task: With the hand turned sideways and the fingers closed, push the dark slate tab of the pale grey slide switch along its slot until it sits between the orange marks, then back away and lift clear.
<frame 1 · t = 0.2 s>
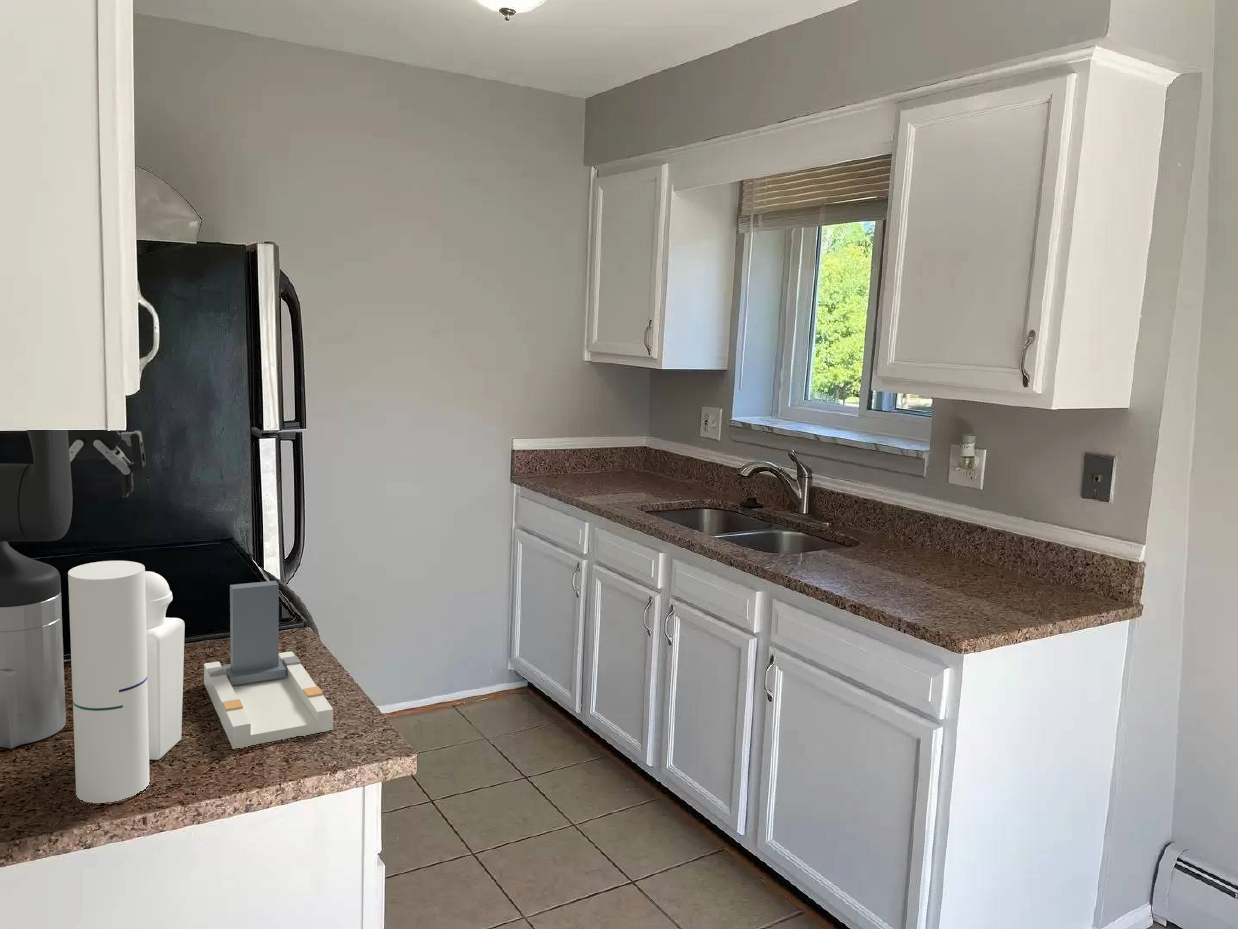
hand: (95, 495, 145), 22 cm above the counter, tool pointing down, fingers open, 8 cm apart
switch tab: (254, 630, 130), point 8 cm above the counter, slide at 0.0 cm
soap dispenser: (147, 750, 112), on the counter
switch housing: (265, 706, 125), on the counter
cylindrical container: (113, 790, 103), on the counter
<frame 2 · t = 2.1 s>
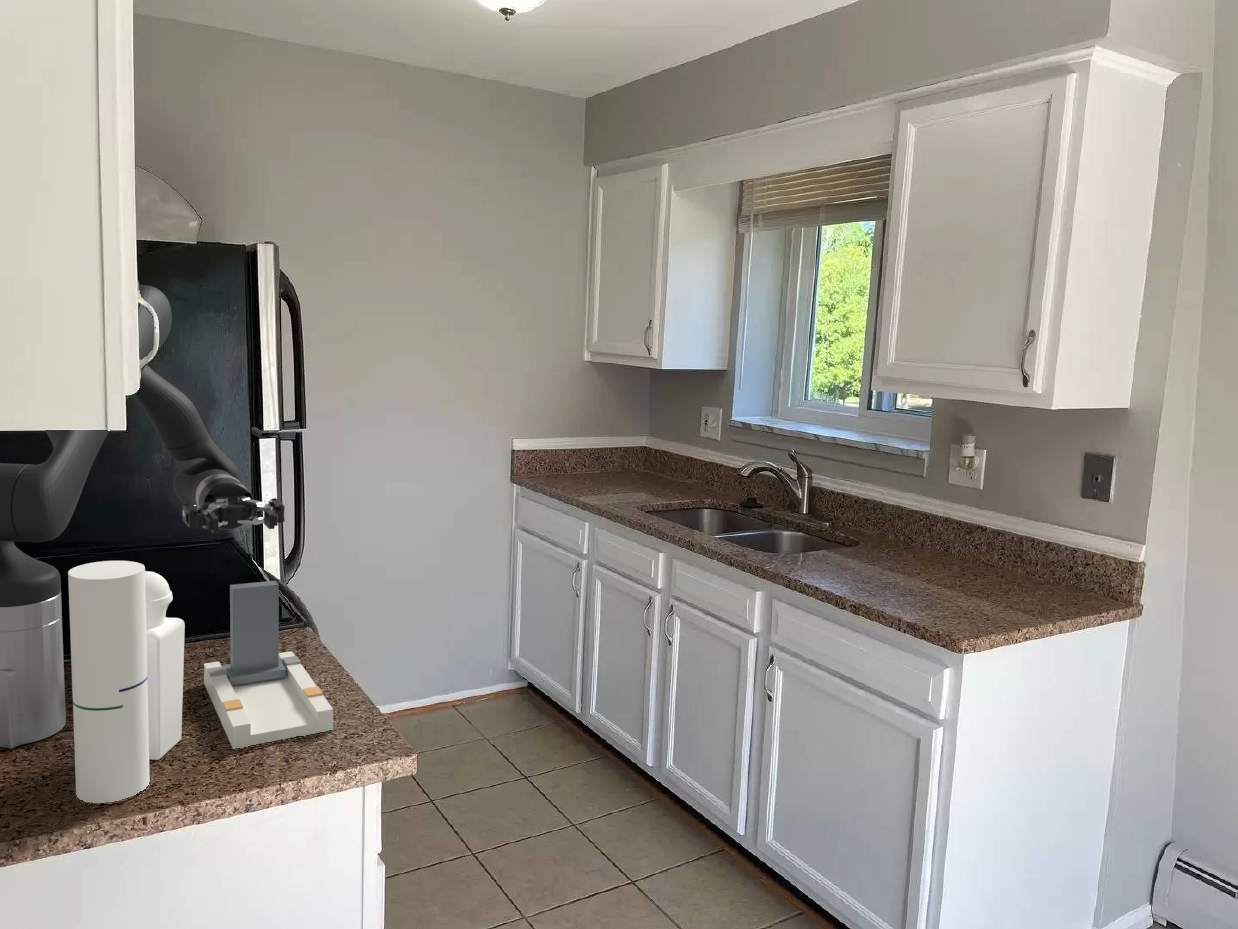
hand: (244, 524, 133), 22 cm above the counter, tool horizontal, fingers open, 7 cm apart
nothing on the counter moved.
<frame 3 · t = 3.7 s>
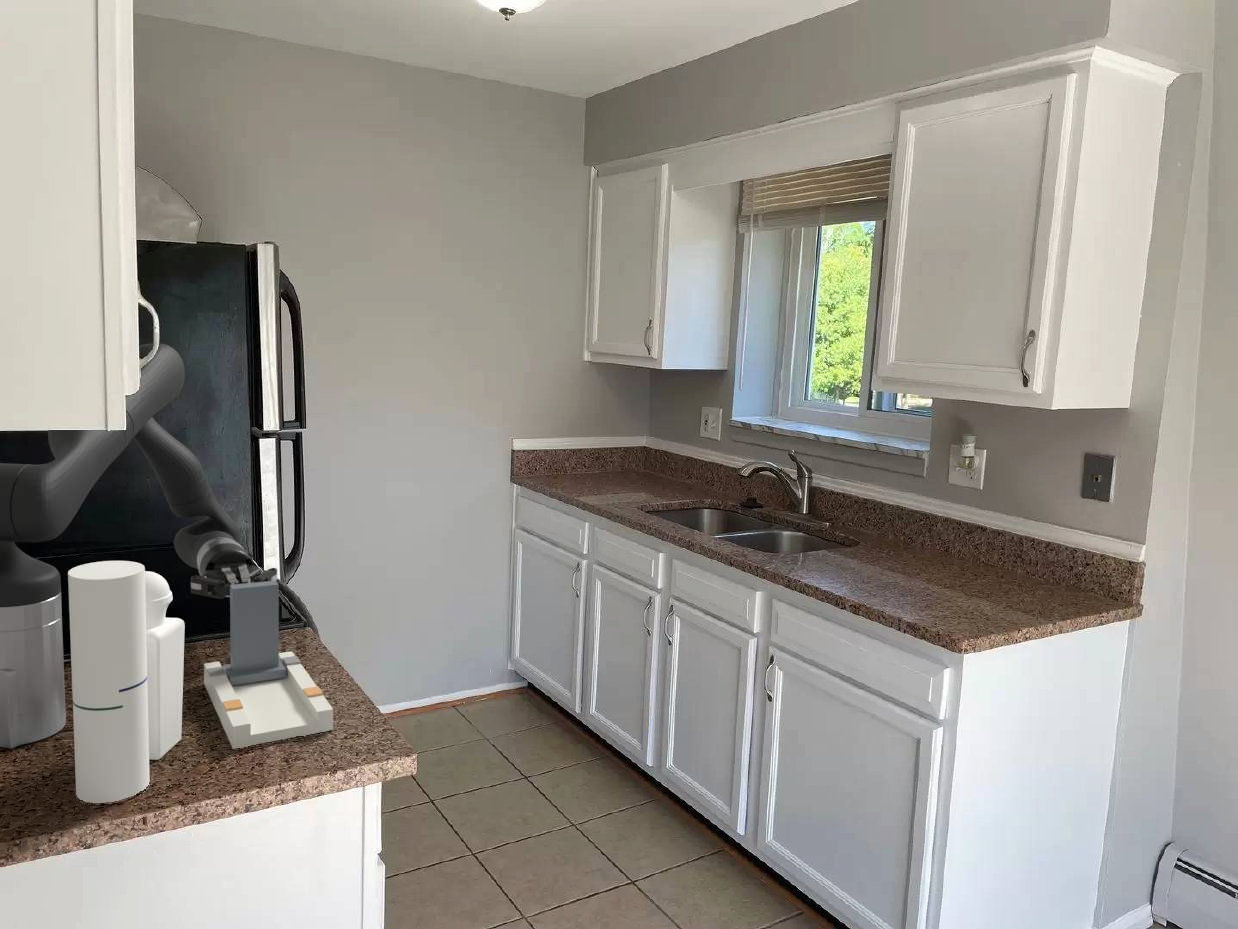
hand: (246, 597, 134), 11 cm above the counter, tool horizontal, fingers closed
nothing on the counter moved.
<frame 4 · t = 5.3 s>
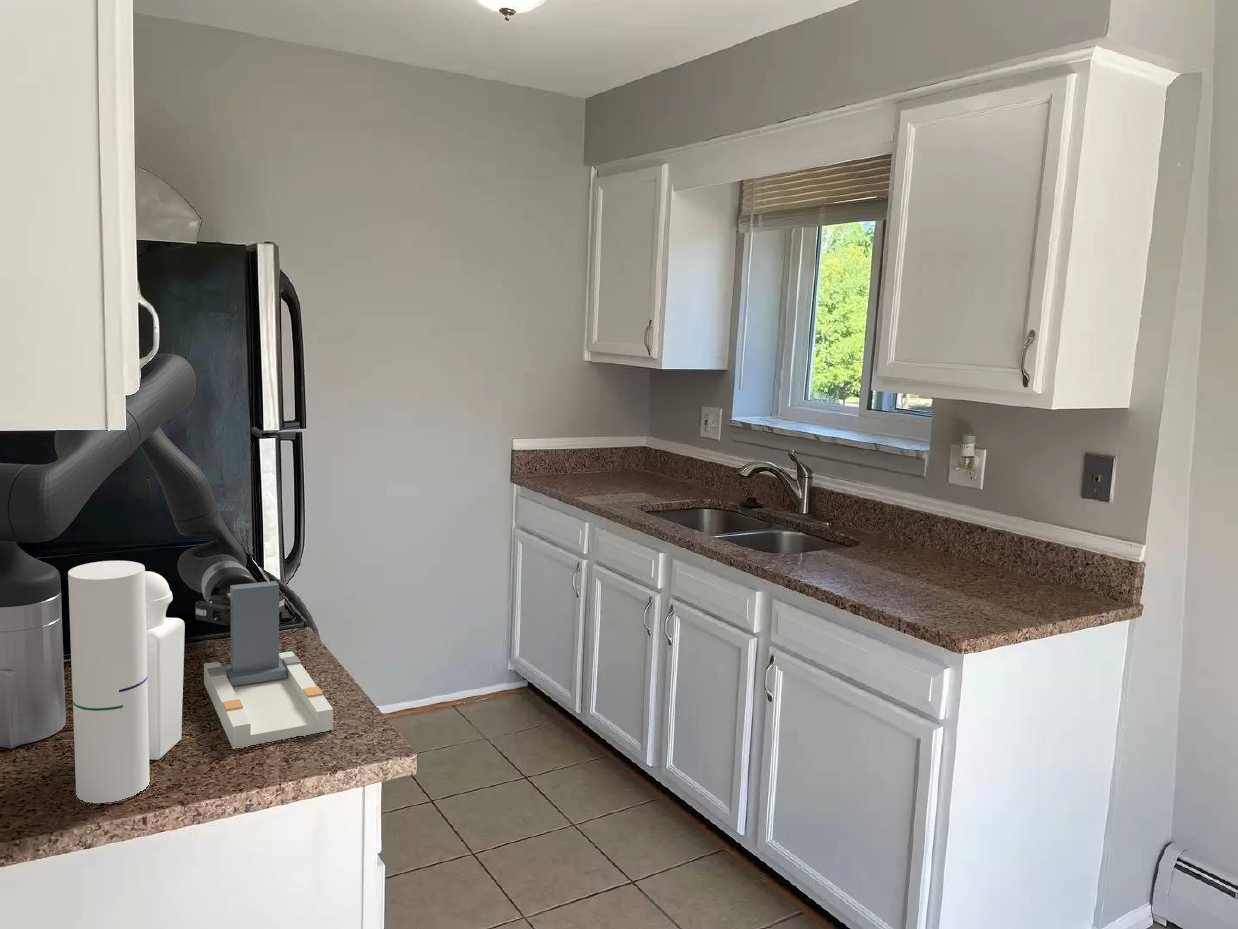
hand: (253, 624, 130), 9 cm above the counter, tool horizontal, fingers closed
switch tab: (254, 630, 129), point 8 cm above the counter, slide at 0.2 cm, touching gripper
everything else where it was.
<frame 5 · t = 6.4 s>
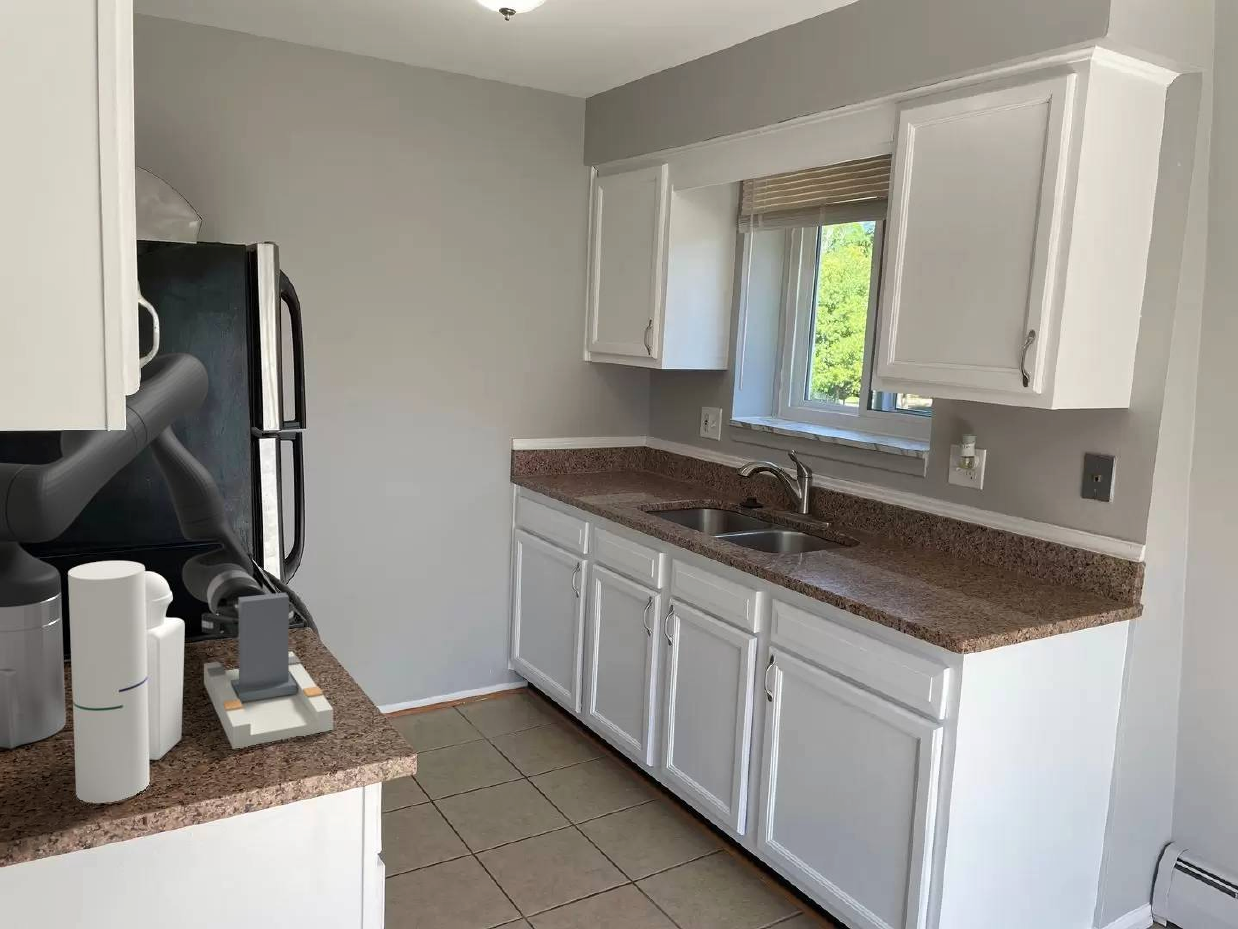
hand: (262, 637, 125), 9 cm above the counter, tool horizontal, fingers closed
switch tab: (263, 644, 125), point 8 cm above the counter, slide at 6.0 cm, touching gripper
everything else where it was.
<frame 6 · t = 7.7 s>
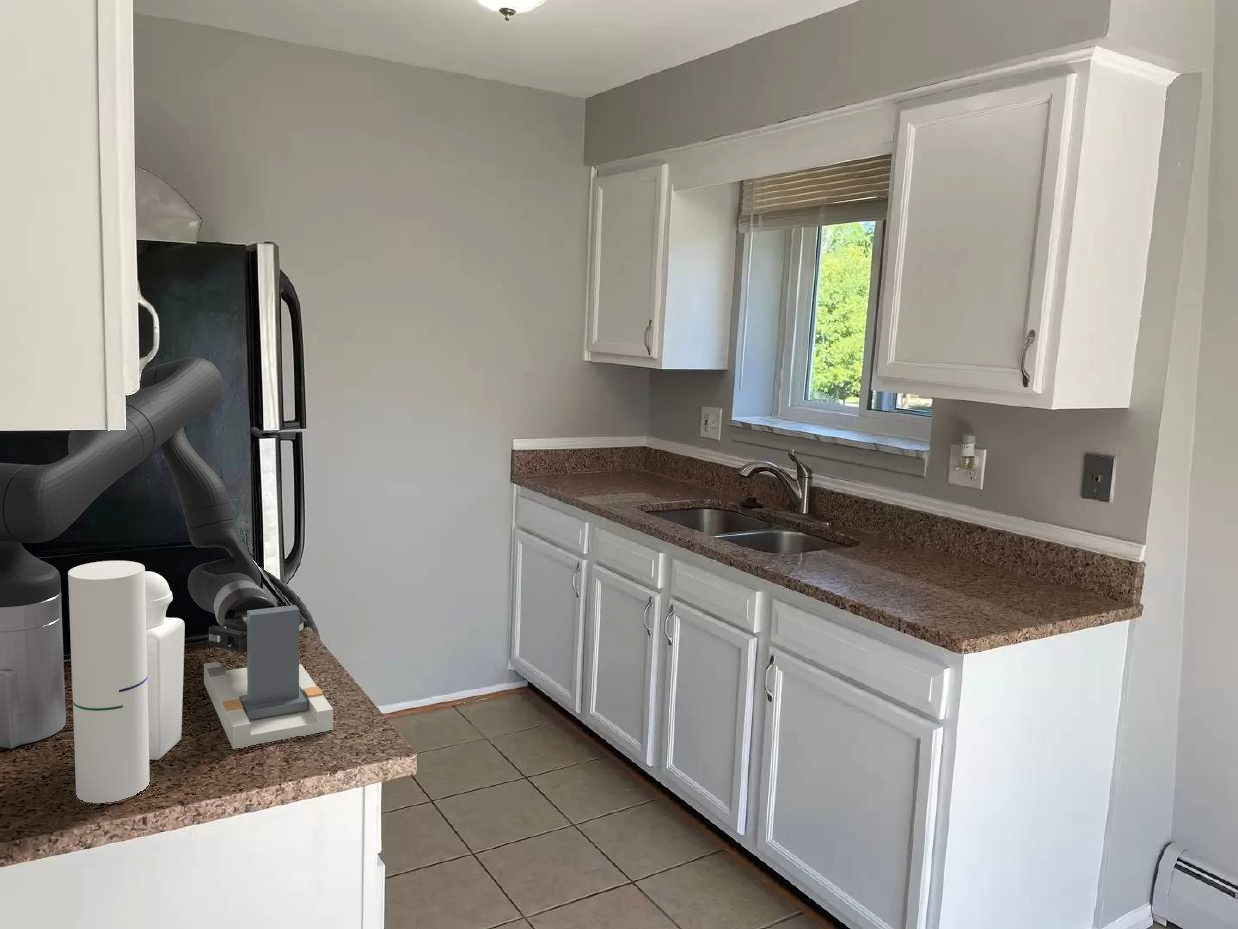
hand: (271, 652, 121), 9 cm above the counter, tool horizontal, fingers closed
switch tab: (273, 659, 120), point 8 cm above the counter, slide at 11.7 cm, touching gripper
everything else where it was.
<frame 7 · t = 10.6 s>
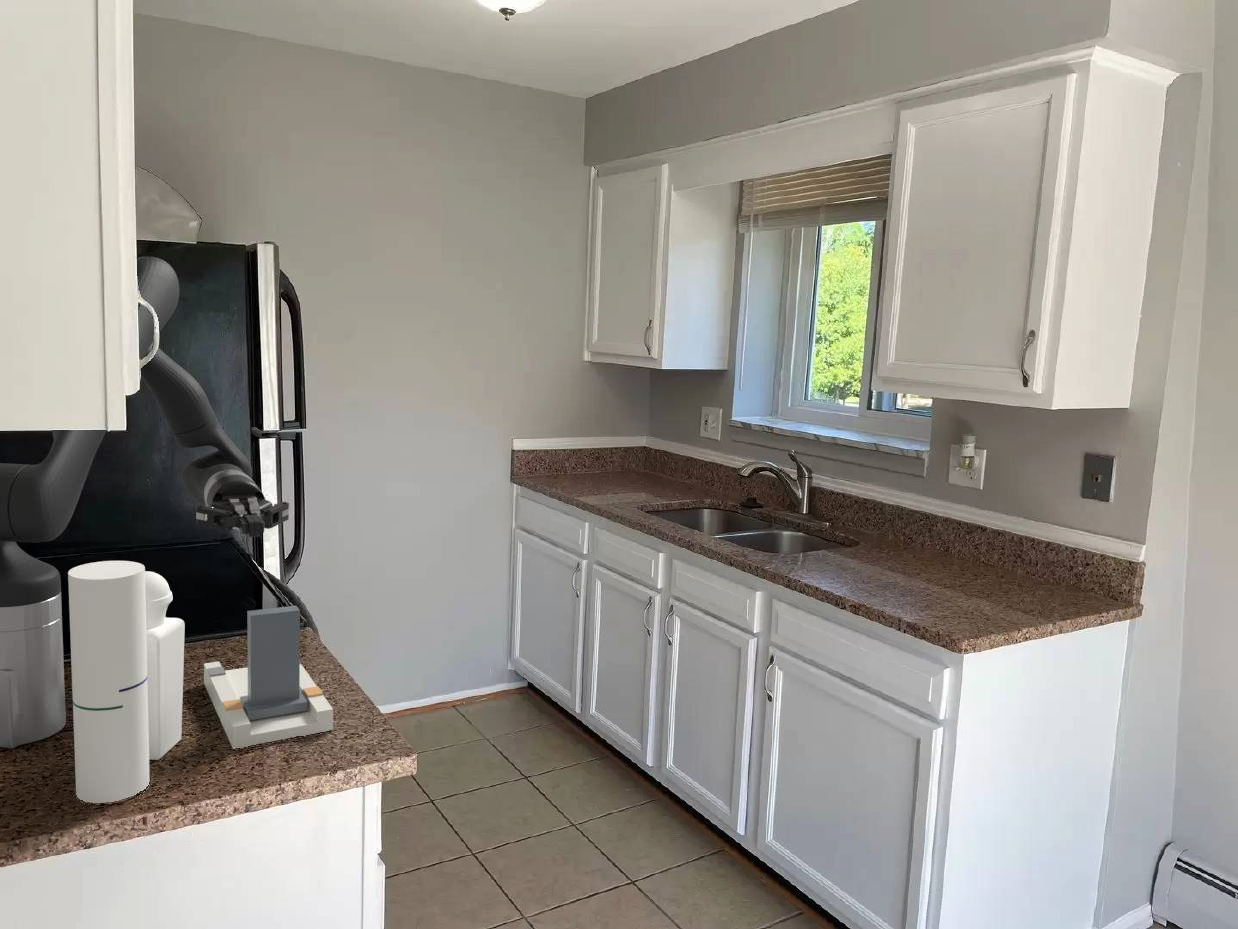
hand: (255, 529, 125), 24 cm above the counter, tool horizontal, fingers closed
switch tab: (273, 659, 120), point 8 cm above the counter, slide at 12.0 cm
everything else where it was.
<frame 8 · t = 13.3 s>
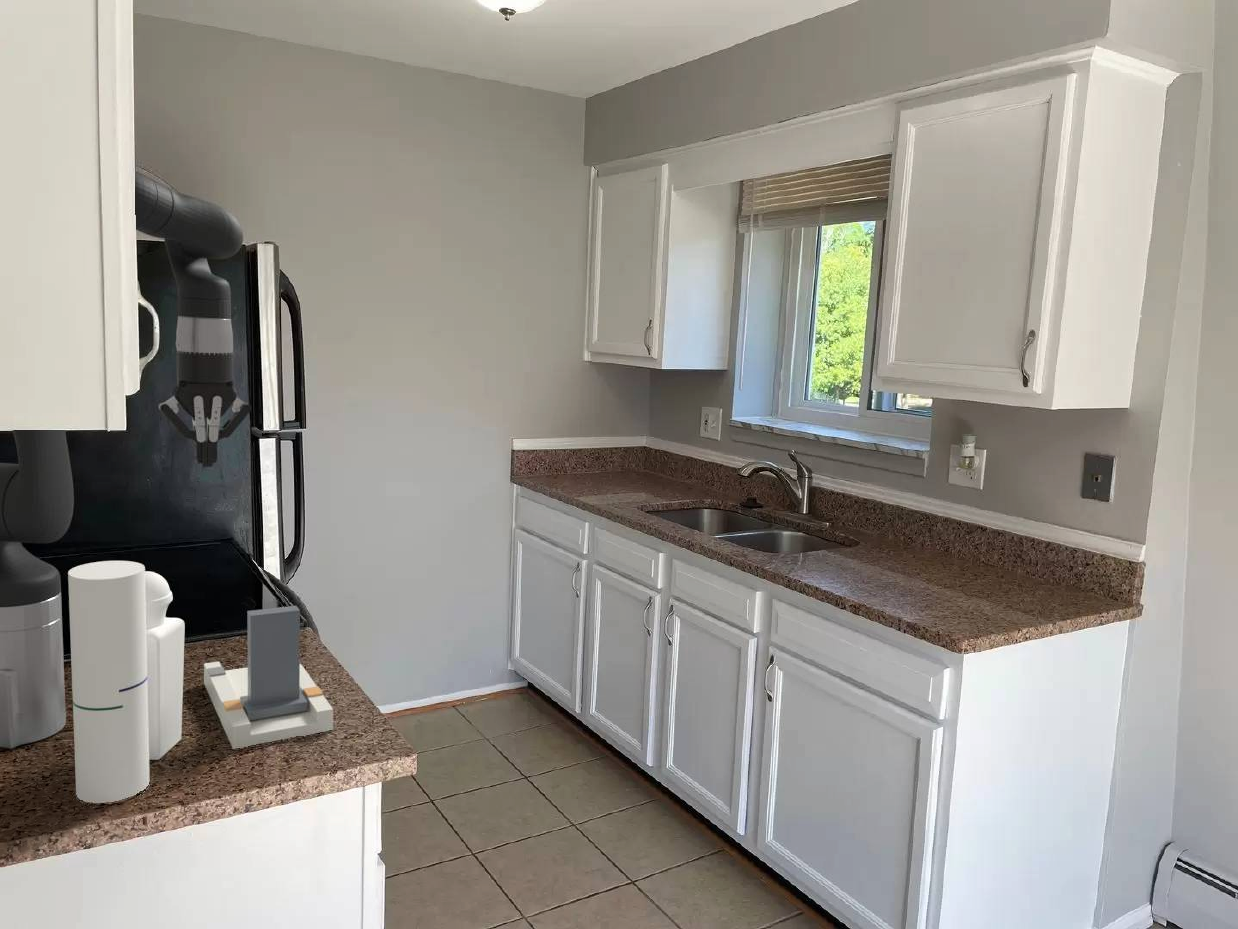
hand: (206, 466, 138), 29 cm above the counter, tool pointing down, fingers closed
nothing on the counter moved.
at the end: switch tab slide at 12.0 cm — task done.
